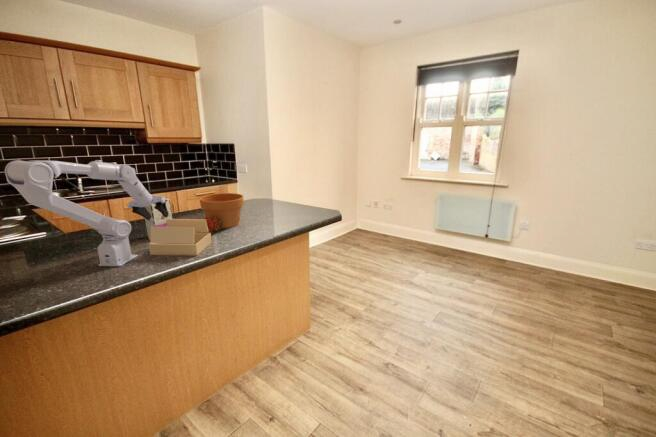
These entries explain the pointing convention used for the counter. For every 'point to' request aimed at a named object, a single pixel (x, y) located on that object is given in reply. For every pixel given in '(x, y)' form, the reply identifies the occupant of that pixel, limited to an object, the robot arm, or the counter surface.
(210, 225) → the dragon fruit
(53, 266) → the counter surface
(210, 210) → the flower pot
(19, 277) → the counter surface
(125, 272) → the counter surface
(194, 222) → the far flap
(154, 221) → the candy bar box
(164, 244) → the carton
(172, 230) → the near flap
